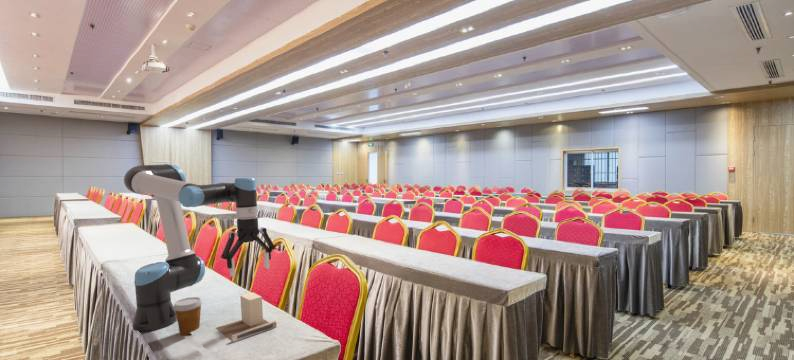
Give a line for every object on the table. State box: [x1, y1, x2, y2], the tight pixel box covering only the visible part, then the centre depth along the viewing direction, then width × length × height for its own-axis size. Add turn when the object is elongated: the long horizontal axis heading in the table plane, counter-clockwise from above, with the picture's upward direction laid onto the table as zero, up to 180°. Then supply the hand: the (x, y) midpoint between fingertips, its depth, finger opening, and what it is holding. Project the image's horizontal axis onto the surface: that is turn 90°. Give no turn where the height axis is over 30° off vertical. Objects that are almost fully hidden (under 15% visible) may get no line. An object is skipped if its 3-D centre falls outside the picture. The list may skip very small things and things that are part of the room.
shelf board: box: [215, 318, 278, 343], centre depth 145 cm, size 17×16×4 cm
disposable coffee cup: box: [173, 296, 203, 337], centre depth 146 cm, size 10×10×12 cm
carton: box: [239, 291, 264, 327], centre depth 150 cm, size 8×5×10 cm, turn 44°
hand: (250, 272), depth 150 cm, fingers open, 13 cm apart
